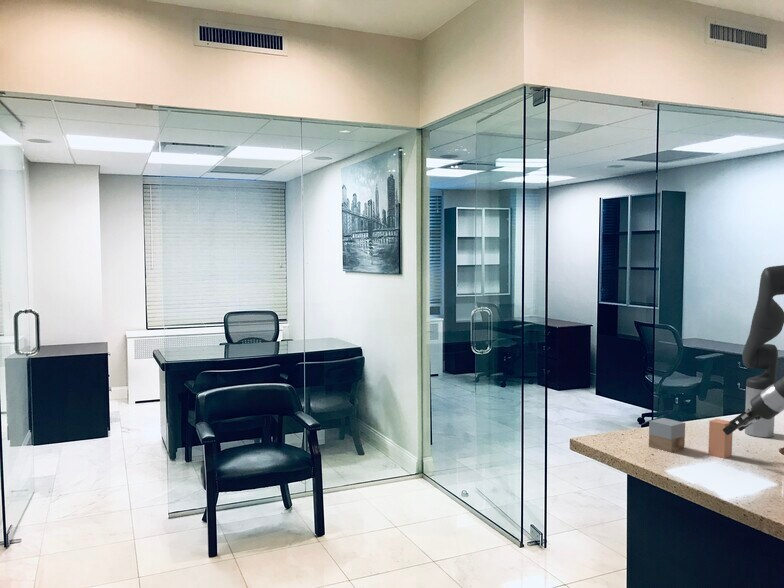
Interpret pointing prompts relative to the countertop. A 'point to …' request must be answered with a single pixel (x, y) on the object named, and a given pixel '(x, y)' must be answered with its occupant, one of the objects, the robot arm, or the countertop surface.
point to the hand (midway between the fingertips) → (731, 430)
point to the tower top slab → (667, 428)
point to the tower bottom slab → (666, 443)
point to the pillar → (719, 439)
